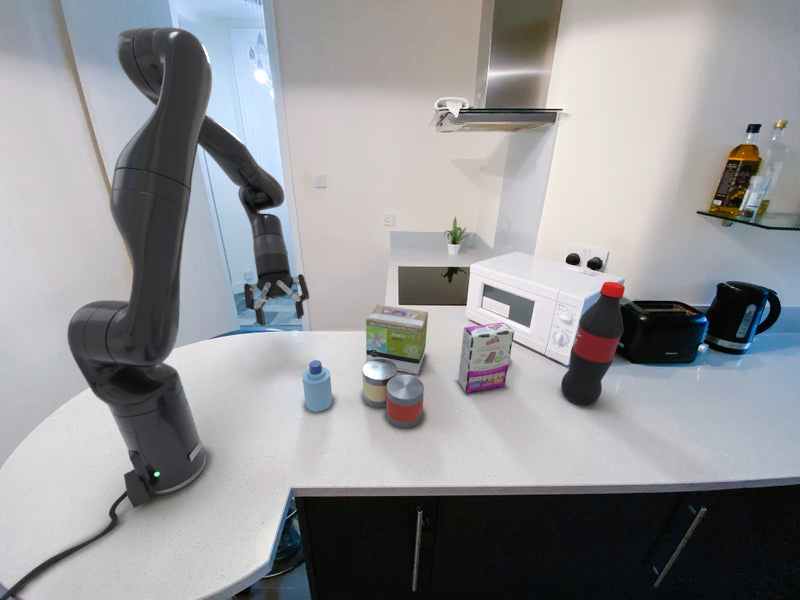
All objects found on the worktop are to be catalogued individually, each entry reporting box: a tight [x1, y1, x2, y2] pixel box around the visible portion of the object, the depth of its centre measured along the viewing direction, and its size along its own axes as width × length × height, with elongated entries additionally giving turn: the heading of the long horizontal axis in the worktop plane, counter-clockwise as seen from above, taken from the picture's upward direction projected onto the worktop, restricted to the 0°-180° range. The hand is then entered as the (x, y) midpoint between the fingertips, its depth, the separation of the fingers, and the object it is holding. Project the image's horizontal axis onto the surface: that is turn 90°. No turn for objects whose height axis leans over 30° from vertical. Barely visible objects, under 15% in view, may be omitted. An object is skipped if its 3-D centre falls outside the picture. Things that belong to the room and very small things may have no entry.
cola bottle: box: [560, 281, 626, 406], centre depth 72 cm, size 8×8×30 cm
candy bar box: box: [457, 321, 515, 394], centre depth 78 cm, size 11×5×16 cm, turn 105°
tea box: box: [365, 304, 429, 375], centre depth 87 cm, size 15×10×15 cm, turn 76°
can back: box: [362, 359, 398, 409], centre depth 75 cm, size 8×8×8 cm
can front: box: [385, 374, 425, 429], centre depth 69 cm, size 8×8×8 cm
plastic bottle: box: [302, 359, 333, 413], centre depth 71 cm, size 6×6×11 cm
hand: (281, 321), depth 75 cm, fingers open, 8 cm apart
